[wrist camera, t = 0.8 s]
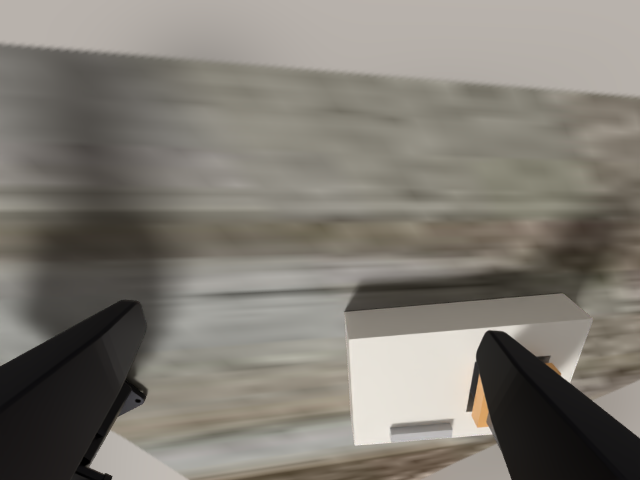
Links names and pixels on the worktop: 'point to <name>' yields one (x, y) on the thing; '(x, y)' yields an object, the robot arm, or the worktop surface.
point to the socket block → (444, 360)
